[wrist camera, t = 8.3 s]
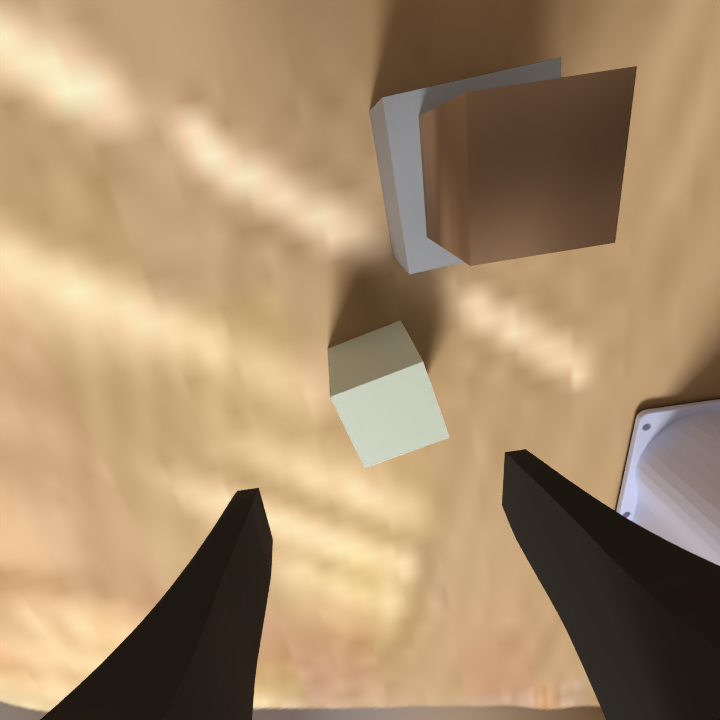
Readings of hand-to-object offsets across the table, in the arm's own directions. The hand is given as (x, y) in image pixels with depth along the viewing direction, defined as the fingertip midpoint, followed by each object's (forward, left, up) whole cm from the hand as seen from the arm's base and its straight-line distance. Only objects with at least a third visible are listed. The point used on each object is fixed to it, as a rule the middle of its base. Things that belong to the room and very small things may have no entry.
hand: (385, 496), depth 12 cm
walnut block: (+8, -5, -7) cm, 12 cm away
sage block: (-1, -1, -10) cm, 11 cm away
